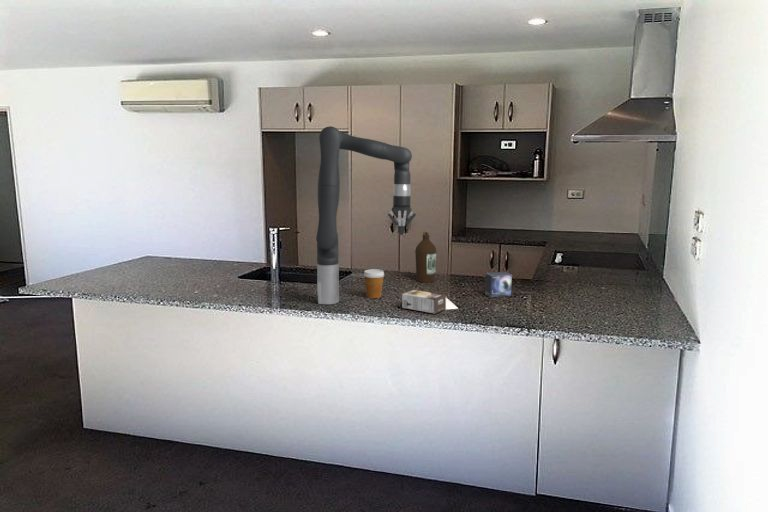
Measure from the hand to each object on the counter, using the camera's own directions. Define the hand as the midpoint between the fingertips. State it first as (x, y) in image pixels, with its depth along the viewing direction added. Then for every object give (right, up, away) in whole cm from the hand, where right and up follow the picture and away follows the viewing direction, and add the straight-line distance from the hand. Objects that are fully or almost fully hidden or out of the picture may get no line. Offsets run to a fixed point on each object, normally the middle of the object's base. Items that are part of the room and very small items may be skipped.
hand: (401, 234), depth 254 cm
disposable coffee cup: (-12, -28, +11) cm, 32 cm away
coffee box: (+2, -27, -7) cm, 28 cm away
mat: (+14, -30, -2) cm, 33 cm away
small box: (+45, -28, +12) cm, 54 cm away
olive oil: (+14, -22, +43) cm, 50 cm away
